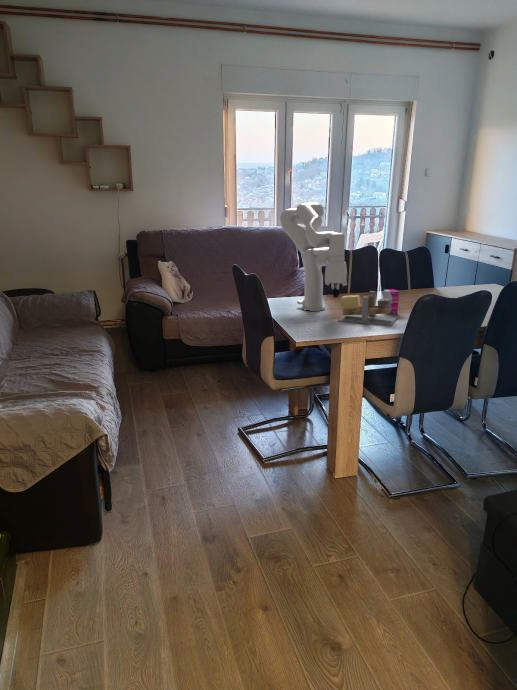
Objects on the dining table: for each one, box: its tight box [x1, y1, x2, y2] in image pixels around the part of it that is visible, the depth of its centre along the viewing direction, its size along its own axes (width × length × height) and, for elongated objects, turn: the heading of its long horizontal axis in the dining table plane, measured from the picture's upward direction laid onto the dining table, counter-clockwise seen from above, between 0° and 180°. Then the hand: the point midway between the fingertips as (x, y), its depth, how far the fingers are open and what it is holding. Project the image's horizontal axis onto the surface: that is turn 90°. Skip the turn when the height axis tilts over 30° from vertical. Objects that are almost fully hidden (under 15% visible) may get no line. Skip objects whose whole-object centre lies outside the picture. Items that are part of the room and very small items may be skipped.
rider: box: [340, 294, 361, 313], centre depth 248 cm, size 8×4×7 cm, turn 66°
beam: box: [342, 295, 391, 316], centre depth 245 cm, size 22×6×8 cm, turn 66°
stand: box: [337, 290, 398, 327], centre depth 245 cm, size 25×17×13 cm
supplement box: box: [382, 289, 400, 315], centre depth 258 cm, size 6×6×12 cm
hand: (335, 297), depth 250 cm, fingers closed
